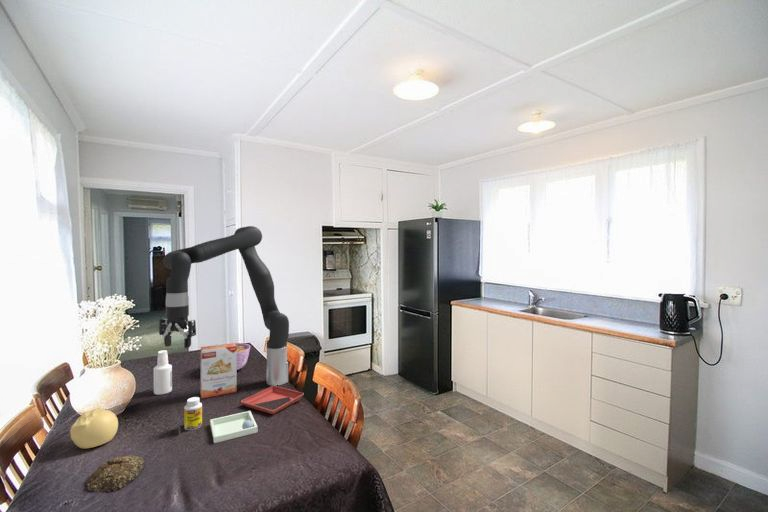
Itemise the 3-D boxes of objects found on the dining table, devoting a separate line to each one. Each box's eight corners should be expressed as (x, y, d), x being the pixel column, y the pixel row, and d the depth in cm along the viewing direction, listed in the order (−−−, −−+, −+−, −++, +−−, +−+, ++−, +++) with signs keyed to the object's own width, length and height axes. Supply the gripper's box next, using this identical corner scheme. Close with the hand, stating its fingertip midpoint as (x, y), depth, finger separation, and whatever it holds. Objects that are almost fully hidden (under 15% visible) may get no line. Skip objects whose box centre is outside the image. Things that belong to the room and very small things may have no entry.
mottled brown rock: (152, 463, 104) (152, 447, 104) (122, 493, 92) (122, 474, 92) (108, 464, 104) (108, 447, 104) (72, 493, 92) (72, 475, 91)
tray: (250, 417, 132) (250, 410, 132) (257, 433, 121) (257, 426, 121) (210, 426, 125) (210, 419, 125) (214, 445, 114) (214, 437, 114)
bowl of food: (198, 374, 175) (198, 351, 175) (227, 362, 194) (227, 341, 194) (232, 379, 169) (232, 355, 169) (258, 366, 188) (258, 344, 188)
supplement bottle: (185, 433, 121) (184, 404, 120) (183, 426, 125) (183, 398, 125) (203, 428, 124) (202, 400, 124) (201, 422, 128) (201, 394, 128)
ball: (251, 427, 124) (251, 417, 124) (253, 431, 121) (253, 421, 121) (241, 429, 122) (241, 419, 122) (243, 434, 119) (243, 424, 119)
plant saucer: (239, 408, 140) (239, 400, 140) (273, 392, 156) (273, 384, 156) (272, 419, 132) (272, 410, 132) (304, 401, 148) (304, 393, 148)
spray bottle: (175, 388, 158) (175, 349, 157) (164, 395, 151) (164, 353, 150) (161, 388, 158) (161, 348, 158) (149, 394, 152) (149, 353, 151)
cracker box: (201, 399, 147) (201, 350, 147) (200, 394, 152) (200, 346, 152) (237, 392, 155) (237, 345, 154) (234, 387, 160) (234, 342, 159)
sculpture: (80, 437, 118) (79, 405, 117) (123, 431, 122) (122, 400, 122) (63, 456, 107) (62, 421, 107) (110, 449, 111) (110, 415, 111)
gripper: (200, 303, 135) (201, 345, 135) (169, 302, 138) (169, 342, 138) (185, 306, 127) (186, 351, 128) (153, 305, 130) (153, 348, 131)
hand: (177, 346), depth 133 cm, fingers open, 8 cm apart
